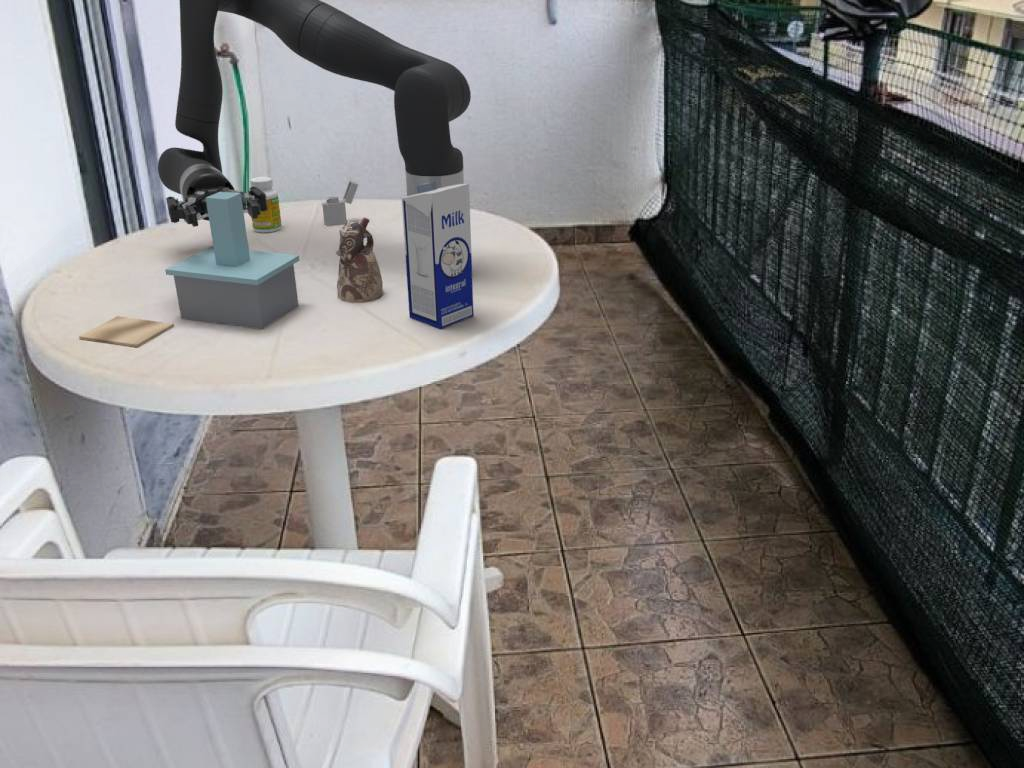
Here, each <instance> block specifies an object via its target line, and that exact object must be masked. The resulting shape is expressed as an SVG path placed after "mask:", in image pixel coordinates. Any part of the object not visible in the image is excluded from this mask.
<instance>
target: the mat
mask: <svg viewBox="0 0 1024 768" xmlns="http://www.w3.org/2000/svg"><path fill="white" fill-rule="evenodd" d="M174 327H175V325H174V323H171V322H163V321H155V320H148V319H142V318H141V319H140V318H133V317H126V316H119V315H118V316H115V317H114V318H111V319H109V320H108V321H106V322H104V323H101V324H100V325H98V326H96V327H94V328H92V329H91V330H89V331H87V332H84V333H83V334H81V335H78V337H79V340H83V341H84V340H85V341H90V342H91V341H93V342H97V343H99V342H100V343H105V344H110V345H111V344H112V345H119V346H125V347H131V348H132V347H133V348H139V347H141V346H142V345H145V344H147V343H148V342H150V341H151V340H153V339H155V338H156V337H158V336H160V335H162V334H164V333H165V332H167V331H169V330H170V329H172V328H174Z"/></svg>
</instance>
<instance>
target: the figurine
mask: <svg viewBox="0 0 1024 768" xmlns="http://www.w3.org/2000/svg"><path fill="white" fill-rule="evenodd" d="M361 219H362V220H361V221H360V223H359V222H358V221H355V220H347V223H346V224H343V226H342V227H341V228H340V229H339V230H338V231H339V232H338V233H339V246H338V249H336V250H335V255H337V256H338V257H339V260H338V261H339V262H338V278H337V282H336V290H337V299H339V300H341V302H348V303H354V302H361V303H367V302H372V301H374V299H375V300H377V299H378V298H379V297H381V296H382V295H383V294H382V293H383V291H384V290H383V288H384V287H383V278H382V274H381V269H380V265H379V263H378V260H377V257H376V255H375V254H374V243H375V242H374V238H373V235H372V233H371V232H370V231H369V230H368V229H367V226H368V224H369V223H370V219H369V218H367V217H363V218H361ZM364 239H366V244H365V245H364V243H365V242H364V241H365V240H364Z"/></svg>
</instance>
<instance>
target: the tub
mask: <svg viewBox="0 0 1024 768" xmlns="http://www.w3.org/2000/svg"><path fill="white" fill-rule="evenodd" d="M173 279H174V286H175V291H176V296H177V302H178V307H179V312H180V318H181V319H186V320H191V321H192V320H193V321H199V322H208V323H215V324H221V325H229V326H235V327H236V326H237V327H245V328H254V329H258V330H259V329H261V330H263V329H264V328H266V327H268V326H269V325H270V324H272V323H273V322H275V321H277V320H278V319H279V318H281V317H283V316H284V315H286V314H287V313H288V312H290V311H292V310H293V309H294V308H296V307H298V306H299V298H298V290H297V280H296V274H295V264H293V265H291V266H289V267H288V268H286V269H284V270H283V271H281V272H279V273H278V274H276V275H274V276H272V277H271V278H269V279H267V280H266V281H264V282H262V283H261V284H259V285H251V284H242V283H234V282H225V281H216V280H208V279H199V278H191V277H182V276H173Z"/></svg>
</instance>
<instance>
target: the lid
mask: <svg viewBox="0 0 1024 768" xmlns="http://www.w3.org/2000/svg"><path fill="white" fill-rule="evenodd" d="M206 203H207V210H208V216H209V221H208V222H209V228H210V229H209V230H210V234H211V240H212V246H210V247H208V248H206V249H204V250H202V251H199V252H198V253H196V254H194V255H191V256H190V257H188V258H185V259H184V260H181V261H180V262H177V263H175V264H174V265H171V266H169V267H167V268H165V269H164V270H165V271H164V272H165V274H166V276H173V277H174V276H182V277H191V278H199V279H208V280H216V281H225V282H234V283H242V284H251V285H259V284H261V283H262V282H264V281H266V280H267V279H269V278H271V277H272V276H274V275H276V274H278V273H279V272H281V271H283V270H284V269H286V268H288V267H289V266H291V265H293V264H294V265H295V264H296V263H298V262H299V261H301V259H300V254H299V255H298V254H288V253H278V252H270V251H260V250H253V249H252V250H250V249H249V248H250V247H249V241H248V237H247V236H248V235H247V228H246V221H245V213H244V212H243V205H242V198H241V193H231V192H218V193H216V194H213V195H211V196H208V197H206Z"/></svg>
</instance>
